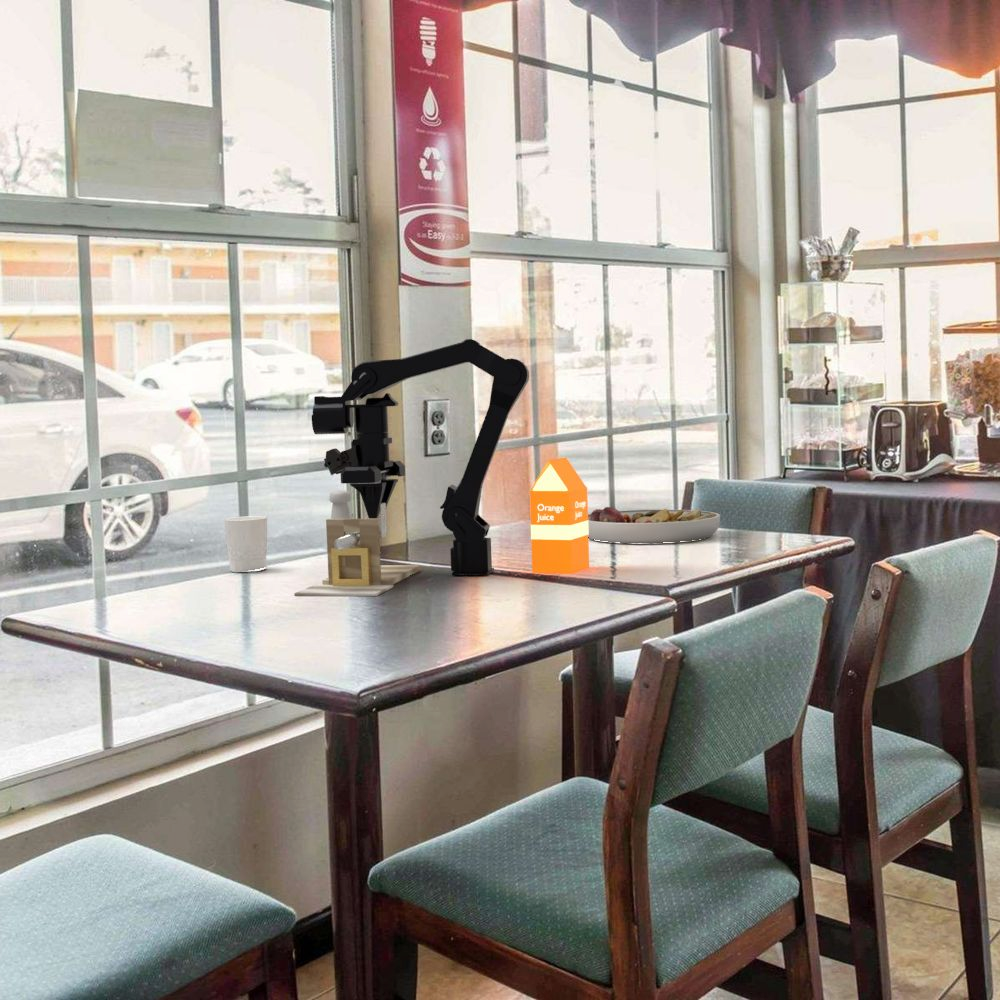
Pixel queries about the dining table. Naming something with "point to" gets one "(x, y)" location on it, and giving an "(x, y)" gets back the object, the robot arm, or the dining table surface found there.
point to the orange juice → (559, 520)
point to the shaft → (355, 537)
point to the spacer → (365, 567)
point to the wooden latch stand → (358, 562)
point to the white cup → (246, 542)
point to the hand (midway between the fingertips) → (375, 520)
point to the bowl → (651, 525)
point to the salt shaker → (340, 506)
